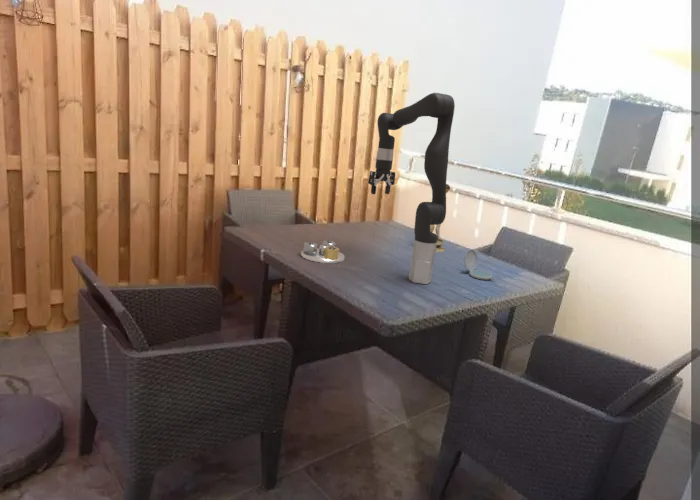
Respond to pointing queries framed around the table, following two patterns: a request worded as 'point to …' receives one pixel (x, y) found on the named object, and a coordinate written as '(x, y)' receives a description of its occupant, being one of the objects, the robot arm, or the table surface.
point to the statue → (439, 240)
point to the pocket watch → (471, 263)
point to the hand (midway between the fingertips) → (380, 193)
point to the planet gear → (331, 253)
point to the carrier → (319, 252)
